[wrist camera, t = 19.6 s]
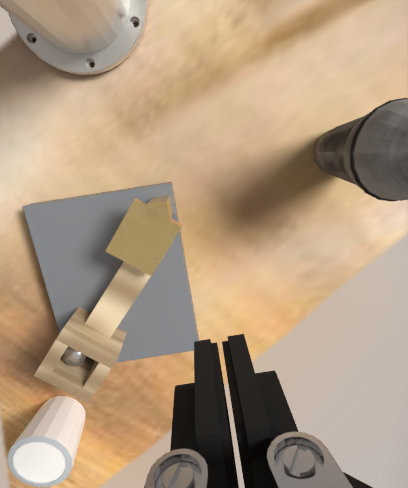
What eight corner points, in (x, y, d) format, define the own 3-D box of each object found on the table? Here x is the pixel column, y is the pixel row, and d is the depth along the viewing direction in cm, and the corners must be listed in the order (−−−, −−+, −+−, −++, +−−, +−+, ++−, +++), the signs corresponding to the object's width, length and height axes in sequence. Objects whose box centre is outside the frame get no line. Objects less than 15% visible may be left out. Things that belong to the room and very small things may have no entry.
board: (31, 203, 36) (22, 206, 35) (171, 181, 36) (170, 183, 34) (75, 359, 41) (70, 369, 40) (199, 340, 41) (199, 349, 39)
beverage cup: (339, 199, 38) (495, 251, 18) (287, 160, 36) (396, 170, 17) (384, 142, 36) (605, 132, 17) (331, 99, 35) (505, 35, 16)
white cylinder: (32, 431, 44) (3, 483, 37) (38, 386, 42) (10, 431, 36) (86, 441, 45) (67, 493, 38) (94, 397, 43) (77, 443, 36)
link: (135, 215, 35) (126, 225, 30) (184, 246, 36) (183, 260, 31) (53, 347, 39) (33, 375, 34) (100, 372, 40) (87, 403, 35)
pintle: (77, 323, 40) (60, 349, 35) (96, 320, 40) (82, 346, 35) (82, 339, 41) (66, 368, 36) (100, 337, 41) (87, 364, 35)
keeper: (150, 180, 36) (141, 186, 30) (189, 203, 37) (188, 214, 31) (119, 234, 38) (105, 251, 31) (157, 256, 38) (151, 276, 32)
